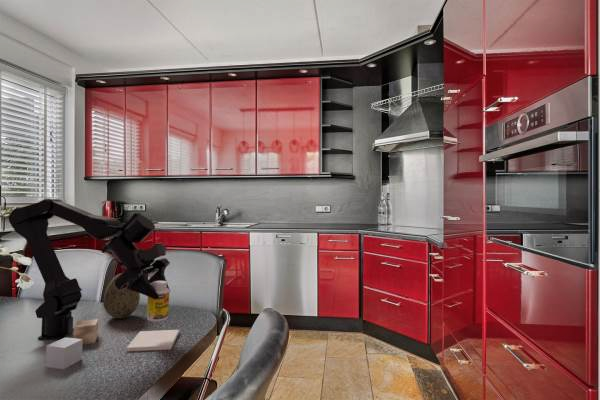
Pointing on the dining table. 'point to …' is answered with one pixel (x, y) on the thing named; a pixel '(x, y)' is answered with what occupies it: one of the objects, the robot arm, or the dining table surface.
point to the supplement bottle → (158, 302)
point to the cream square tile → (153, 340)
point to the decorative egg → (120, 300)
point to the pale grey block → (63, 353)
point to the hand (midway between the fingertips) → (163, 295)
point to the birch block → (86, 331)
